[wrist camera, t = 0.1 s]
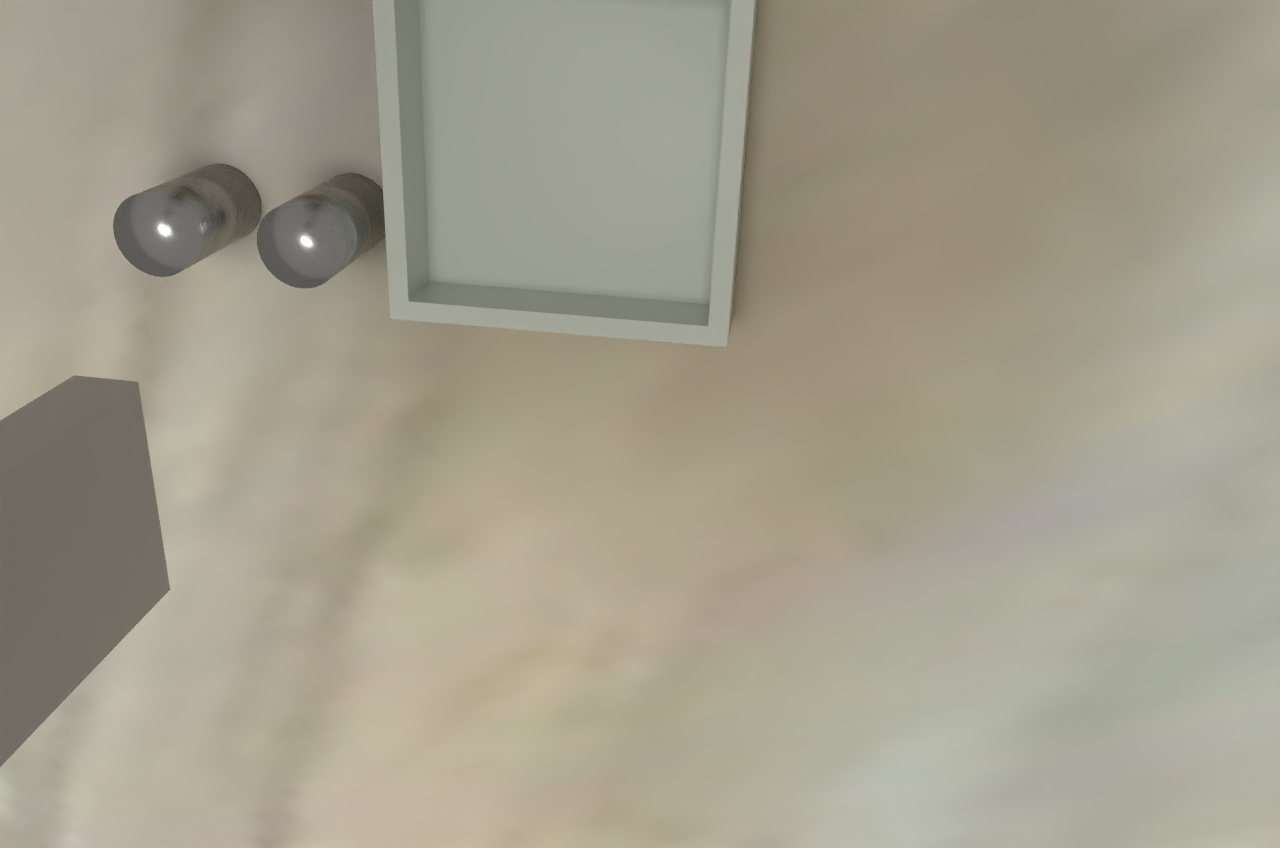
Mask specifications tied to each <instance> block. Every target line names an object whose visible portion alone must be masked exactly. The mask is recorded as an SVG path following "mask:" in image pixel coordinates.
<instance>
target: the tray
mask: <svg viewBox="0 0 1280 848" xmlns="http://www.w3.org/2000/svg"><path fill="white" fill-rule="evenodd" d="M372 3H373V21H374V39H375V57H376V75H377V93H378V110H379V128H380V146H381V164H382V182H383V200H384V218H385V236H386V254H387V272H388V290H389V308H390V319H398V320H410V321H421V322H433V323H445V324H457V325H468V326H480V327H492V328H504V329H516V330H527V331H539V332H551V333H563V334H575V335H586V336H598V337H610V338H622V339H633V340H645V341H657V342H669V343H681V344H692V345H704V346H716V347H728V341H729V336H730V330H731V324H732V318H733V305H734V293H735V280H736V268H737V255H738V243H739V230H740V218H741V205H742V193H743V180H744V168H745V155H746V143H747V130H748V118H749V105H750V93H751V81H752V68H753V56H754V43H755V31H756V18H757V6H758V0H372Z"/></svg>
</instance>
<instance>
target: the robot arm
mask: <svg viewBox="0 0 1280 848" xmlns="http://www.w3.org/2000/svg"><path fill="white" fill-rule="evenodd" d="M169 590H170V586H169V580H168V573H167V567H166V560H165V554H164V547H163V541H162V534H161V528H160V521H159V515H158V508H157V502H156V495H155V489H154V482H153V476H152V469H151V462H150V456H149V449H148V443H147V436H146V430H145V423H144V417H143V410H142V404H141V397H140V391H139V384H138V382H134V381H124V380H114V379H104V378H94V377H84V376H73V377H71V378H69V379H68V380H66V381H64V382H63V383H61V384H60V385H58V386H56V387H55V388H53V389H51V390H50V391H48V392H47V393H45V394H43V395H42V396H40V397H38V398H37V399H35V400H33V401H32V402H30V403H29V404H27V405H25V406H24V407H22V408H20V409H19V410H17V411H15V412H14V413H12V414H11V415H9V416H7V417H6V418H4V419H2V420H1V421H0V767H1V766H2V765H3V763H4V762H5V761H6V760H7V759H8V758H9V757H10V756H11V755H12V754H13V753H14V752H15V751H16V750H17V749H18V748H19V747H20V746H21V745H22V744H23V743H24V742H25V740H26V739H27V738H28V737H29V736H30V735H31V734H32V733H33V732H34V731H35V730H36V729H37V728H38V727H39V726H40V725H41V724H42V723H43V722H44V721H45V720H46V719H47V717H48V716H49V715H50V714H51V713H52V712H53V711H54V710H55V709H56V708H57V707H58V706H59V705H60V704H61V703H62V702H63V701H64V700H65V699H66V698H67V697H68V696H69V694H70V693H71V692H72V691H73V690H74V689H75V688H76V687H77V686H78V685H79V684H80V683H81V682H82V681H83V680H84V679H85V678H86V677H87V676H88V675H89V674H90V673H91V671H92V670H93V669H94V668H95V667H96V666H97V665H98V664H99V663H100V662H101V661H102V660H103V659H104V658H105V657H106V656H107V655H108V654H109V653H110V652H111V651H112V650H113V648H114V647H115V646H116V645H117V644H118V643H119V642H120V641H121V640H122V639H123V638H124V637H125V636H126V635H127V634H128V633H129V632H130V631H131V630H132V629H133V628H134V627H135V626H136V624H137V623H138V622H139V621H140V620H141V619H142V618H143V617H144V616H145V615H146V614H147V613H148V612H149V611H150V610H151V609H152V608H153V607H154V606H155V605H156V604H157V603H158V601H159V600H160V599H161V598H162V597H163V596H164V595H165V594H166V593H167V592H168V591H169Z"/></svg>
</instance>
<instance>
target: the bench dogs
mask: <svg viewBox="0 0 1280 848" xmlns="http://www.w3.org/2000/svg"><path fill="white" fill-rule="evenodd" d="M260 215H261V203H260V198H259V195H258V192H257V190H256V188H255V186H254V185H253V183H252V182H251V181H250V180H249V178H248V177H247V176H246V175H244V174H243V173H242V172H241V171H239V170H237V169H235V168H233V167H231V166H228V165H223V164H214V165H209V166H206V167H204V168H201V169H199V170H196V171H194V172H191V173H189V174H186V175H184V176H181V177H179V178H176V179H174V180H171V181H168V182H166V183H163V184H161V185H158V186H156V187H153V188H151V189H148V190H146V191H143V192H141V193H138V194H136V195H133V196H131V197H129V198H127V199H126V200H124V201H123V202H122V203H121V205H120V206H119V207H118V209H117V211H116V213H115V217H114V223H113V229H114V235H115V239H116V242H117V245H118V247H119V249H120V250H121V252H122V254H123V255H124V256H125V258H126V259H127V260H128V261H129V262H130V263H131V264H132V265H134V266H135V267H136V268H138V269H139V270H141V271H143V272H145V273H147V274H150V275H154V276H160V277H165V276H171V275H175V274H177V273H179V272H181V271H183V270H184V269H186V268H188V267H190V266H192V265H193V264H195V263H197V262H199V261H201V260H202V259H204V258H206V257H208V256H210V255H212V254H213V253H215V252H217V251H219V250H221V249H222V248H224V247H226V246H228V245H230V244H232V243H233V242H235V241H237V240H239V239H241V238H242V237H244V236H246V235H248V234H249V233H250V232H252V231H253V230H254V228H255V227H256V226H257V224H258V222H259V219H260ZM384 237H385V218H384V200H383V191H382V190H381V189H380V188H379V187H378V186H377V185H376V184H375V183H374V182H373V181H371V180H370V179H368V178H366V177H364V176H361V175H358V174H341V175H338V176H335V177H333V178H331V179H330V180H328V181H326V182H324V183H322V184H320V185H318V186H316V187H314V188H313V189H311V190H309V191H307V192H305V193H303V194H301V195H299V196H297V197H296V198H294V199H292V200H290V201H288V202H286V203H284V204H282V205H280V206H279V207H277V208H275V209H273V210H272V211H270V212H269V213H268V214H267V215H266V216H265V217H264V218H263V220H262V222H261V223H260V226H259V229H258V233H257V245H258V250H259V254H260V256H261V259H262V261H263V263H264V264H265V266H266V267H267V269H268V270H269V271H270V272H271V273H272V274H273V275H274V276H275V277H276V278H277V279H279V280H280V281H282V282H284V283H285V284H288V285H290V286H293V287H297V288H313V287H317V286H319V285H322V284H323V283H325V282H326V281H328V280H329V279H330V278H332V277H333V276H334V275H336V274H337V273H338V272H340V271H341V270H343V269H344V268H345V267H347V266H348V265H349V264H351V263H352V262H353V261H355V260H356V259H357V258H359V257H360V256H361V255H363V254H364V253H365V252H367V251H368V250H370V249H371V248H372V247H374V246H375V245H376V244H378V243H379V242H380V241H381V240H382V239H383V238H384Z"/></svg>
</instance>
